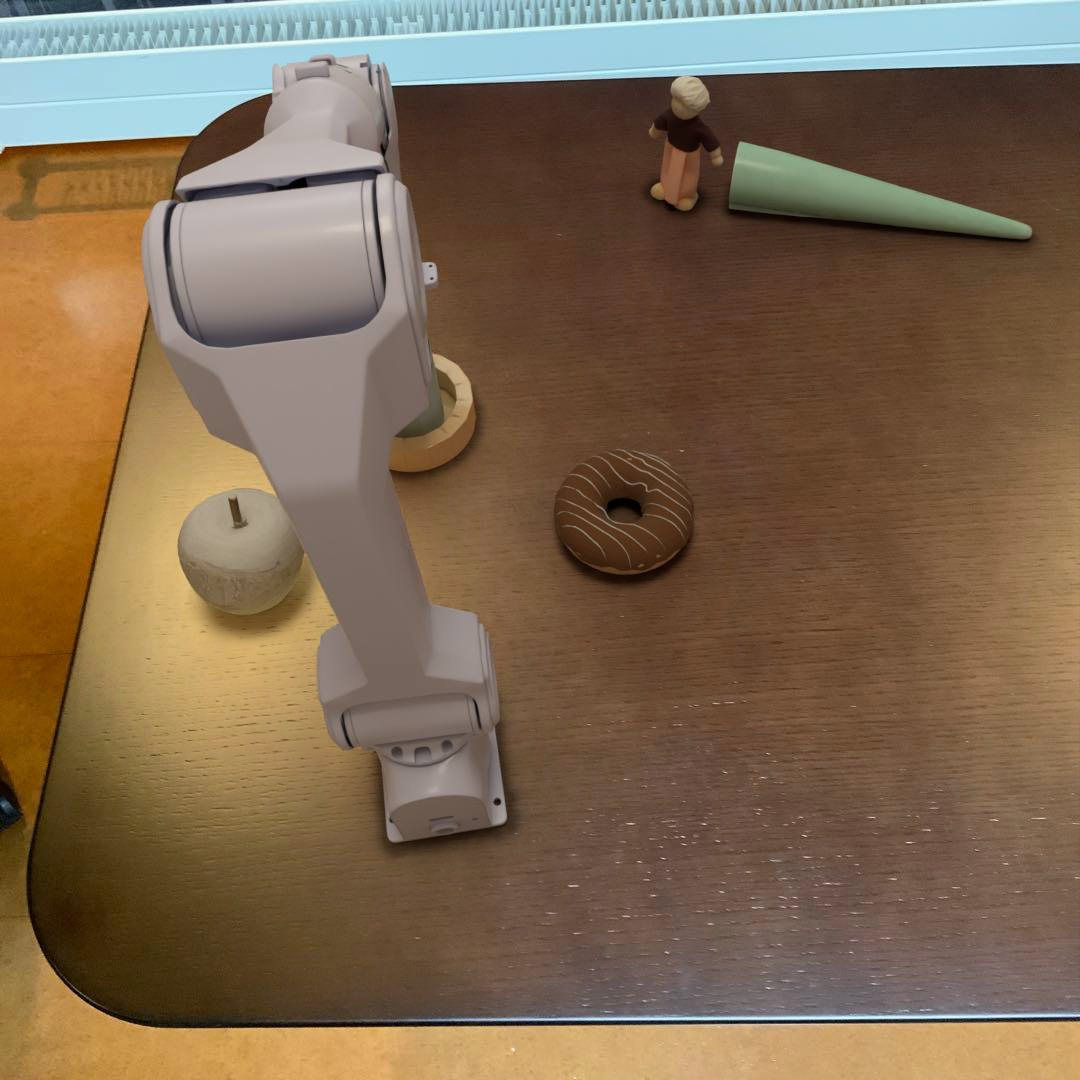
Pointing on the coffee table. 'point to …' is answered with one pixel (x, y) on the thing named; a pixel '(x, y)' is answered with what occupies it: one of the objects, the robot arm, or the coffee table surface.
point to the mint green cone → (849, 196)
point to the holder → (450, 435)
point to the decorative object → (240, 551)
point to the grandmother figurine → (684, 143)
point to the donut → (622, 542)
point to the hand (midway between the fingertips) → (401, 364)
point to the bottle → (427, 411)
